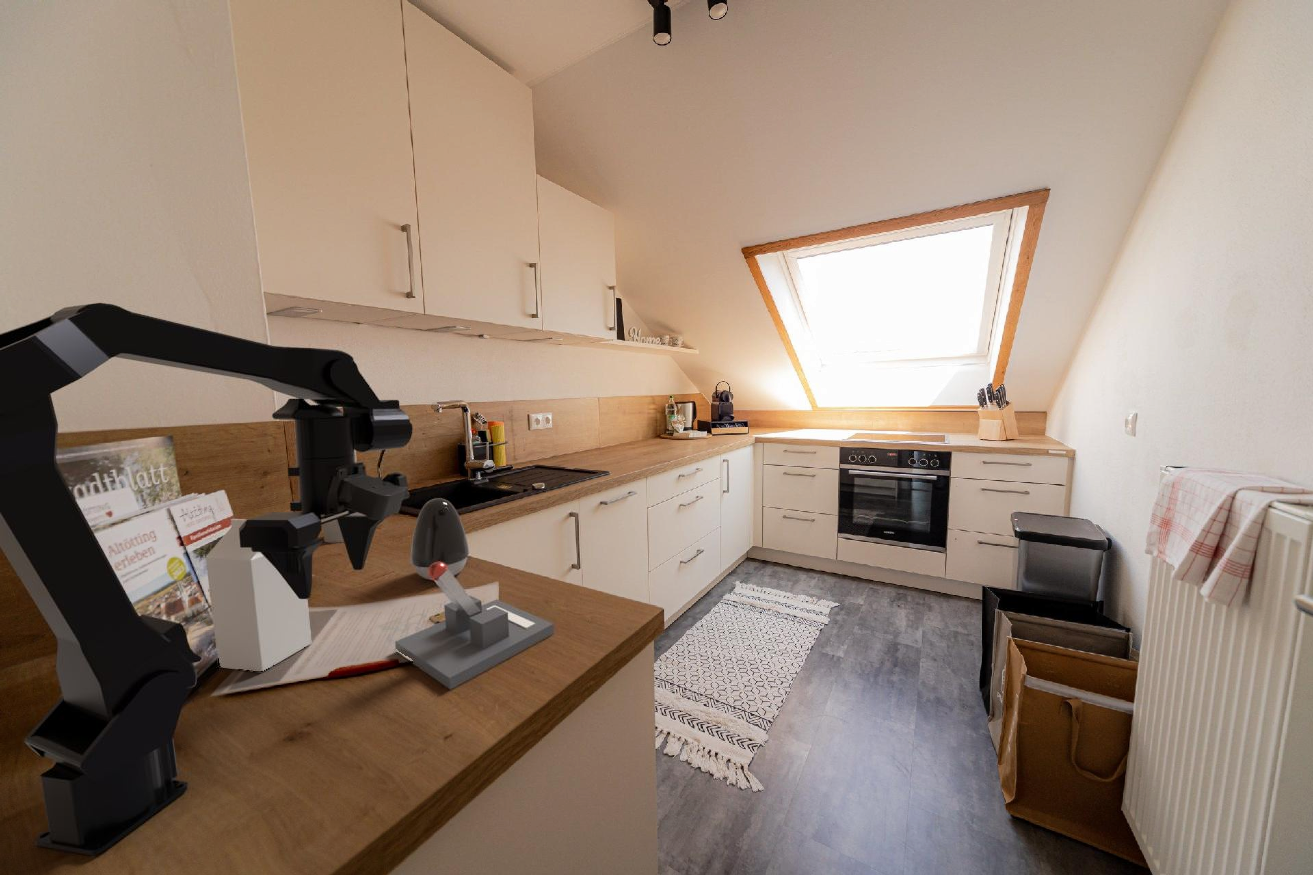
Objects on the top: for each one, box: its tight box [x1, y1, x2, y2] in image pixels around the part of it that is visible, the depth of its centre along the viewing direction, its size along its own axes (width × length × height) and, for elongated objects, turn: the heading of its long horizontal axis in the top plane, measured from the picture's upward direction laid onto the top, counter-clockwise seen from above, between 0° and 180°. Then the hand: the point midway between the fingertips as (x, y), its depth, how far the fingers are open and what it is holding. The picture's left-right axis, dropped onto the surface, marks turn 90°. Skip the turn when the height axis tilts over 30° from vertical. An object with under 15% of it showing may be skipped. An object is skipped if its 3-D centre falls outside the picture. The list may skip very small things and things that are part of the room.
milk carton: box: [205, 518, 313, 672], centre depth 64 cm, size 7×7×19 cm
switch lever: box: [428, 562, 482, 622], centre depth 64 cm, size 2×3×11 cm
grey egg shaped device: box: [410, 497, 470, 581], centre depth 91 cm, size 10×10×15 cm
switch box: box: [394, 595, 555, 691], centre depth 67 cm, size 16×14×5 cm
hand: (333, 582), depth 58 cm, fingers open, 9 cm apart
